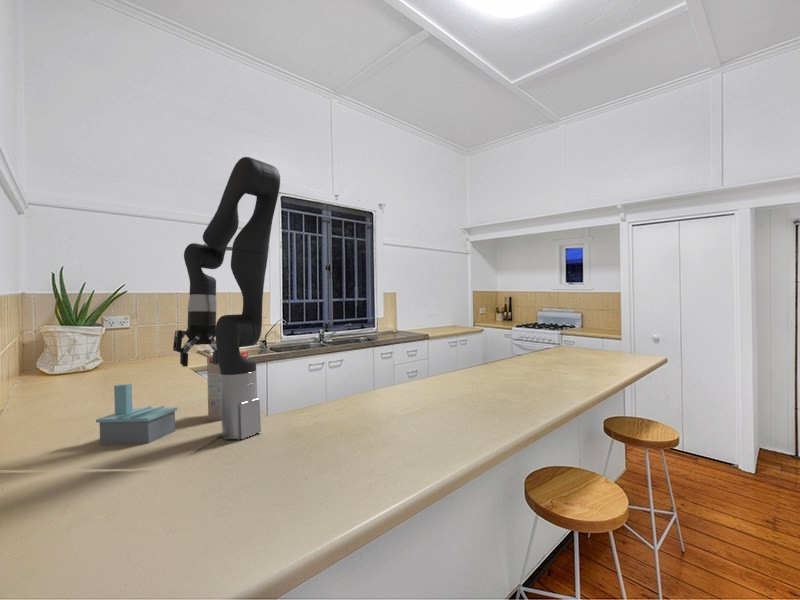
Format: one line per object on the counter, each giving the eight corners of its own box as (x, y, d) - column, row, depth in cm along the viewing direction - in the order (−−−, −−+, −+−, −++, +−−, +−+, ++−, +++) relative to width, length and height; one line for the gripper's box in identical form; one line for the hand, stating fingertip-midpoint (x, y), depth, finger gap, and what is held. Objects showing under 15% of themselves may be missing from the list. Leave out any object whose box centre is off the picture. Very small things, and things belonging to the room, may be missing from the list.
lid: (177, 409, 108) (176, 379, 108) (148, 421, 97) (147, 387, 97) (130, 411, 110) (129, 381, 110) (96, 422, 99) (95, 389, 99)
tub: (175, 433, 107) (174, 410, 108) (148, 445, 98) (148, 420, 98) (130, 434, 109) (130, 411, 109) (100, 446, 99) (99, 421, 99)
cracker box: (224, 422, 117) (221, 355, 117) (207, 421, 118) (205, 355, 118) (251, 410, 130) (248, 350, 131) (235, 410, 131) (233, 351, 132)
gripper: (181, 309, 103) (179, 368, 102) (231, 310, 114) (230, 364, 113) (171, 310, 108) (169, 366, 107) (220, 311, 119) (219, 363, 118)
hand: (200, 365), depth 110 cm, fingers open, 8 cm apart
